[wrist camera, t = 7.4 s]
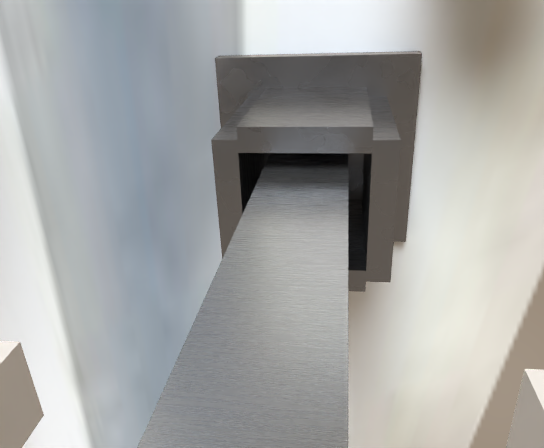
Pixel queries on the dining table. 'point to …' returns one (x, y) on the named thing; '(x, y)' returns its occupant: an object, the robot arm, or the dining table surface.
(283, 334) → the column
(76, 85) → the dining table surface
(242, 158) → the stand
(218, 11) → the dining table surface
